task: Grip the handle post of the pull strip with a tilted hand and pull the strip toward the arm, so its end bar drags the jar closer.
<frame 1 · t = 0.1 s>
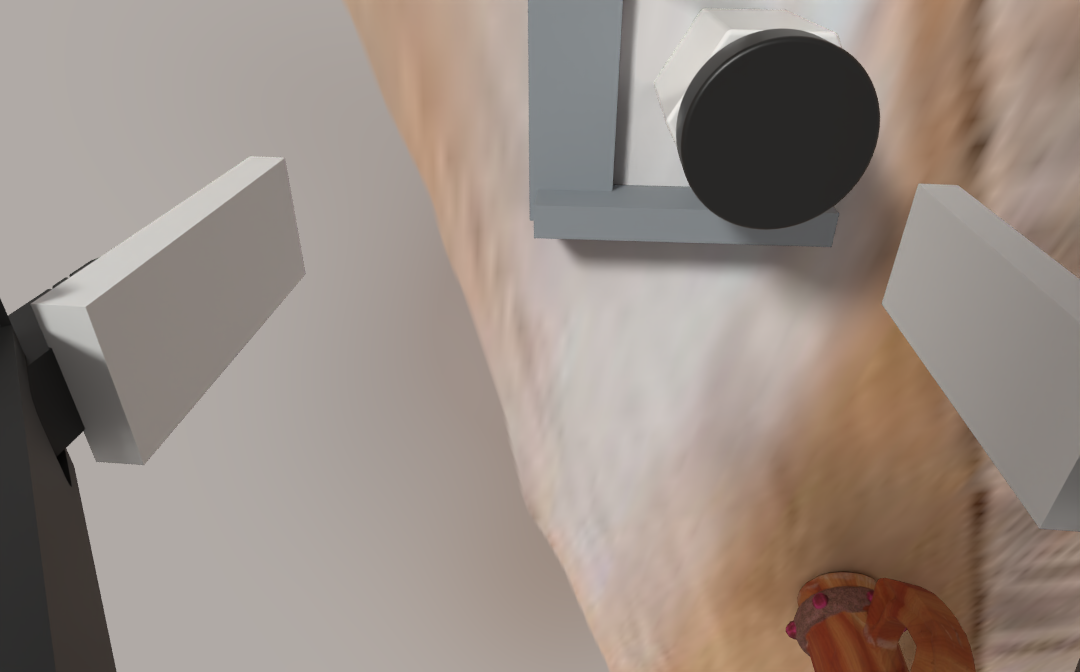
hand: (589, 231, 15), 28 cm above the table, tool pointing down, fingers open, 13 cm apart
jar: (732, 83, 40), on the table
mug: (848, 572, 58), on the table
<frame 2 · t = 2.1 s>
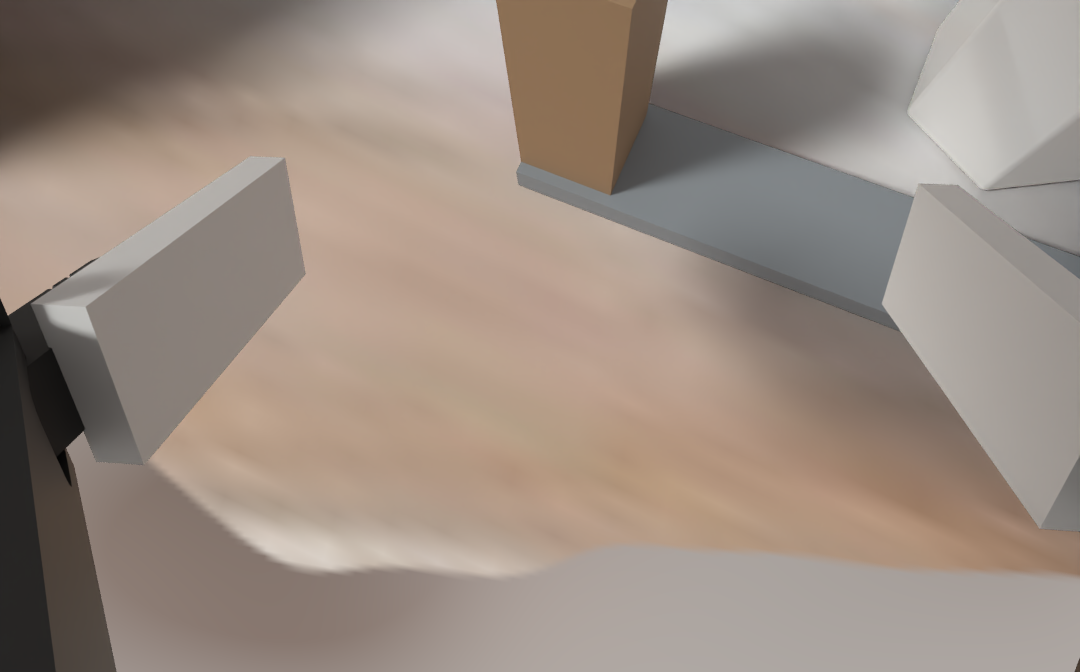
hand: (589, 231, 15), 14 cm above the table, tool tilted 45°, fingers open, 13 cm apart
jar: (1006, 106, 30), on the table
pull strip: (950, 21, 24), point 6 cm above the table, slide at 0.0 cm
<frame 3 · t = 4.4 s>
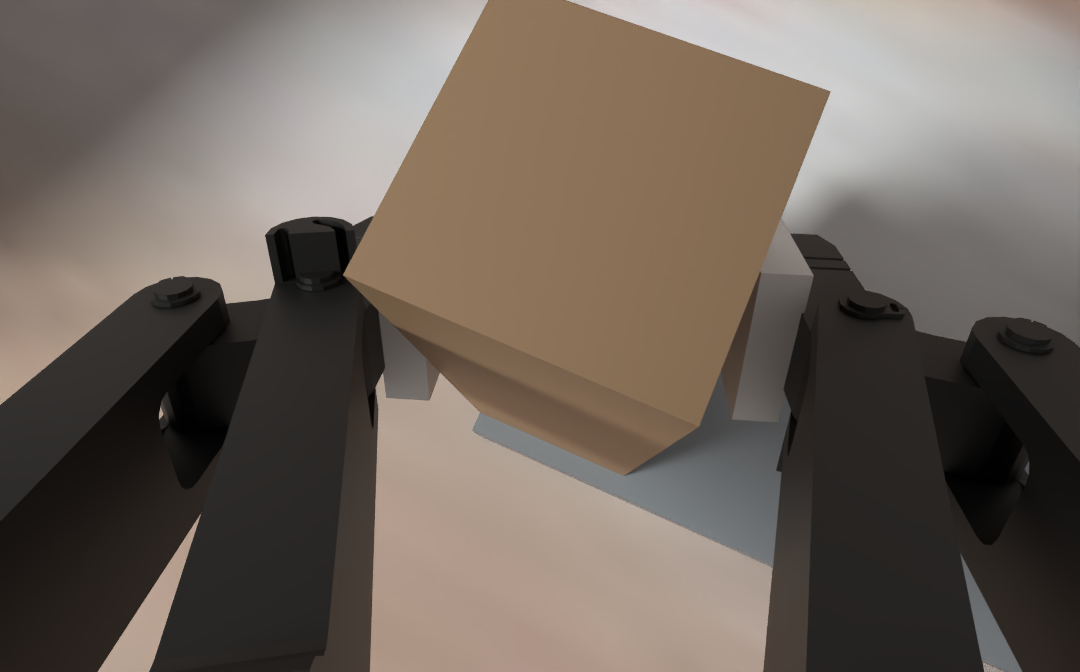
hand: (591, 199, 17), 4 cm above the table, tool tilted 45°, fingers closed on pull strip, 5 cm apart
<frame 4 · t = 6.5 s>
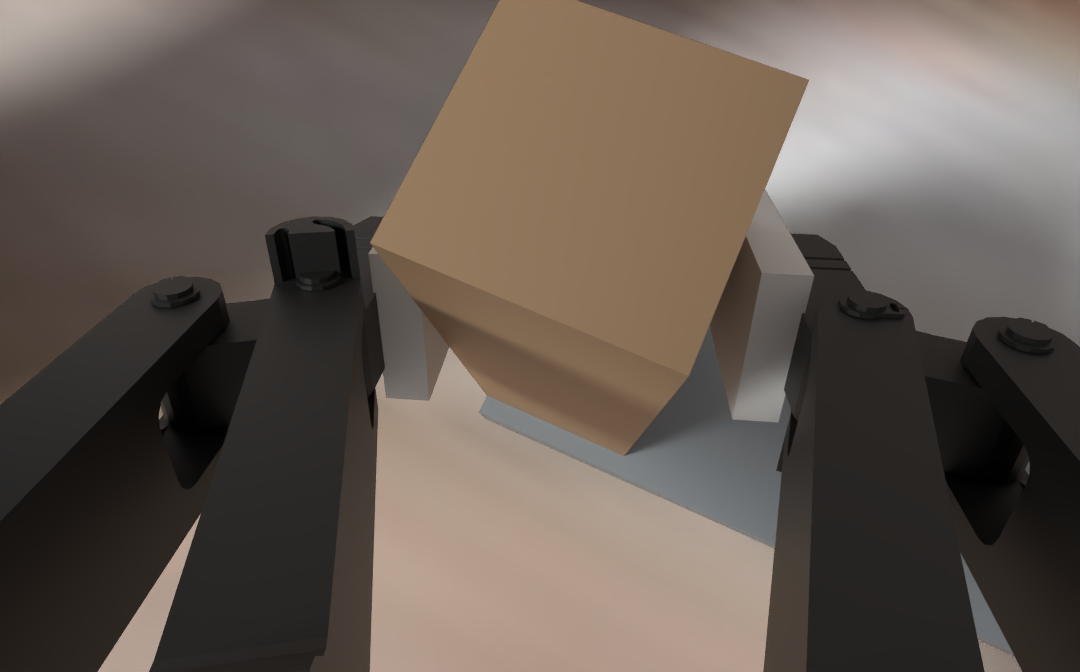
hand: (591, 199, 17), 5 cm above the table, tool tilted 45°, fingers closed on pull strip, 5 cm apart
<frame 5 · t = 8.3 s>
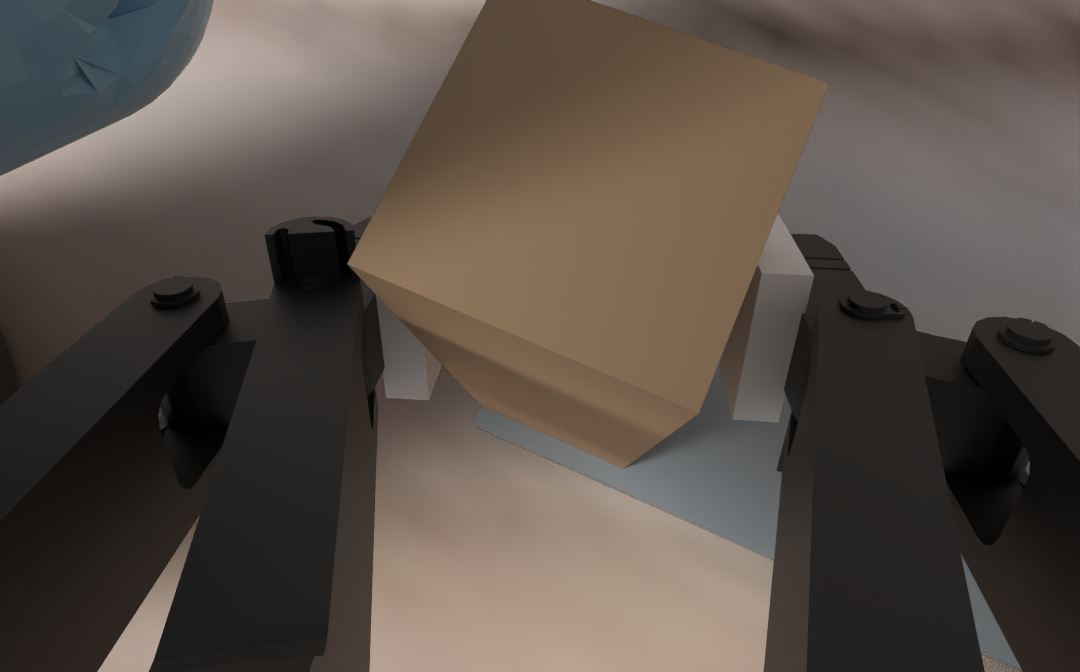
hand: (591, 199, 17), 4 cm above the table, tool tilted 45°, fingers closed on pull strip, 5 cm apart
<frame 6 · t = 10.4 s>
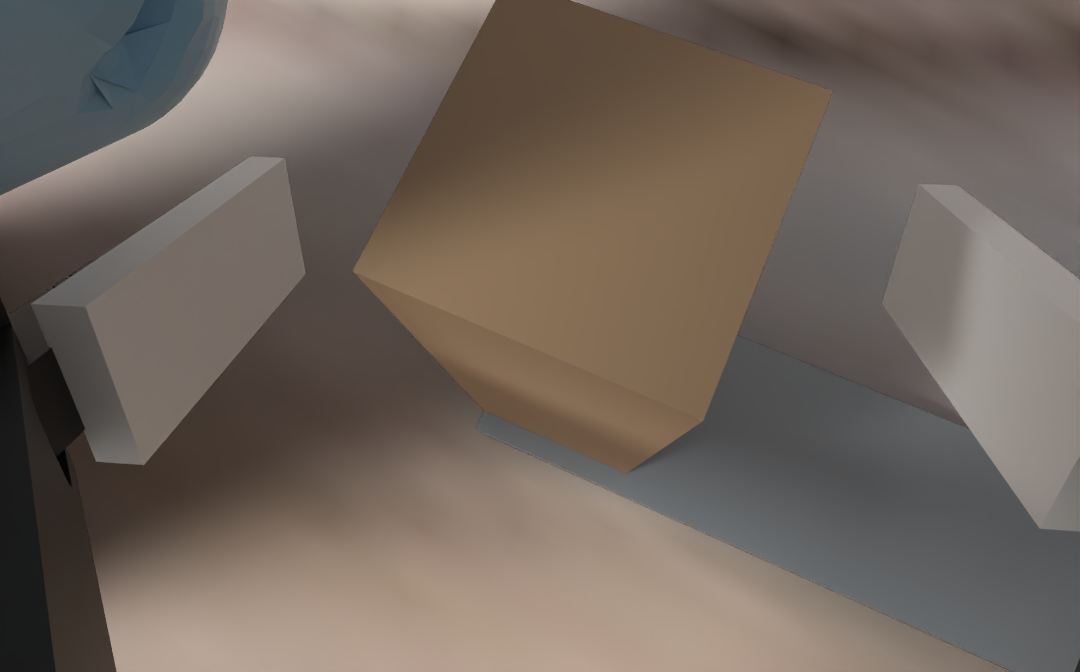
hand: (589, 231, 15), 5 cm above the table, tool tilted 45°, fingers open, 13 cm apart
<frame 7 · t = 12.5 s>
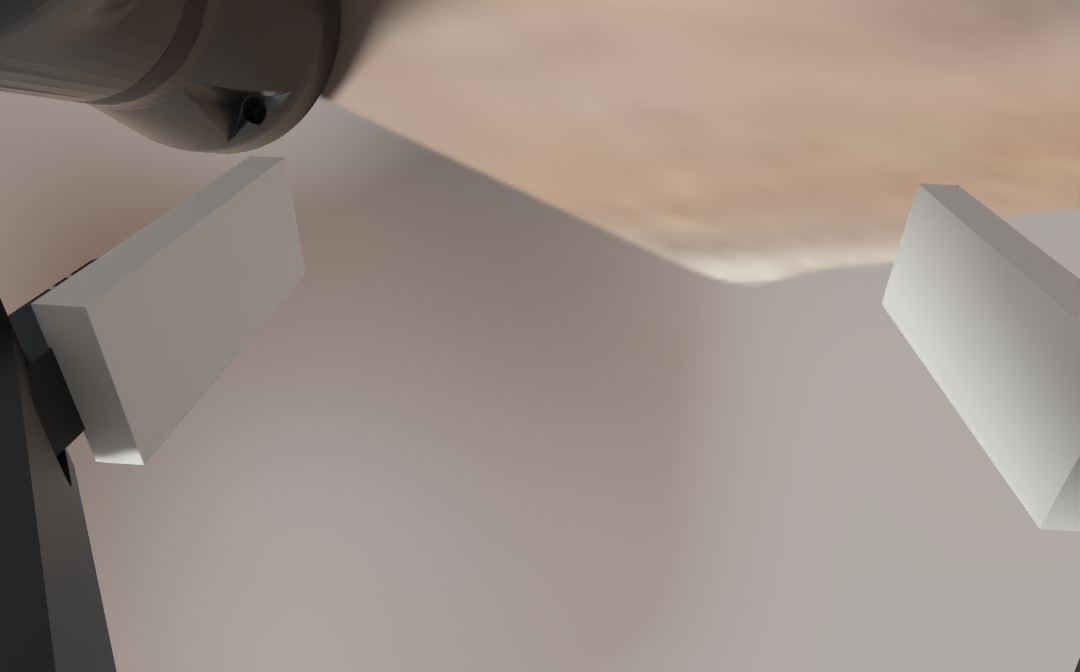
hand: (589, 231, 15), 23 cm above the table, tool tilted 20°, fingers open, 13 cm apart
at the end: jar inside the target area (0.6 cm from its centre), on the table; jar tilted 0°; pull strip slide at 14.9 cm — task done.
